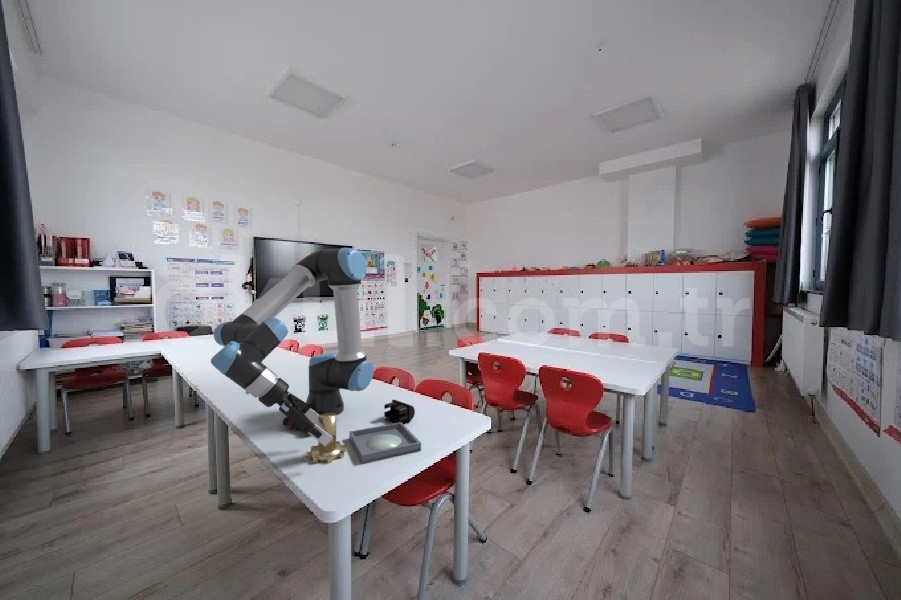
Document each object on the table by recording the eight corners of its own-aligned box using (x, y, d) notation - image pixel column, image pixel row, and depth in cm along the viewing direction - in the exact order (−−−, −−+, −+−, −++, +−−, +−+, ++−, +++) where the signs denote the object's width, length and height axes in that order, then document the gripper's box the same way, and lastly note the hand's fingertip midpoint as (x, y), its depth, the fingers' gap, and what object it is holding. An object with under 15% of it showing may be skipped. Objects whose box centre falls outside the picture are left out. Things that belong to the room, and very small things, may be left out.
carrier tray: (349, 438, 110) (349, 431, 110) (401, 428, 118) (401, 422, 118) (362, 463, 94) (362, 455, 94) (421, 450, 102) (421, 442, 102)
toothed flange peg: (305, 450, 101) (306, 412, 101) (342, 443, 106) (342, 407, 106) (309, 467, 92) (309, 425, 91) (349, 458, 97) (349, 419, 97)
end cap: (415, 421, 126) (415, 403, 126) (400, 426, 120) (400, 408, 120) (397, 414, 132) (398, 397, 132) (383, 419, 127) (383, 402, 127)
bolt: (287, 430, 120) (318, 437, 113) (276, 428, 116) (307, 435, 109) (294, 414, 122) (324, 420, 116) (283, 411, 118) (314, 417, 112)
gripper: (258, 386, 101) (311, 427, 108) (254, 413, 79) (321, 462, 86) (278, 367, 103) (329, 408, 110) (279, 388, 81) (342, 438, 88)
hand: (325, 432), depth 98 cm, fingers open, 13 cm apart
